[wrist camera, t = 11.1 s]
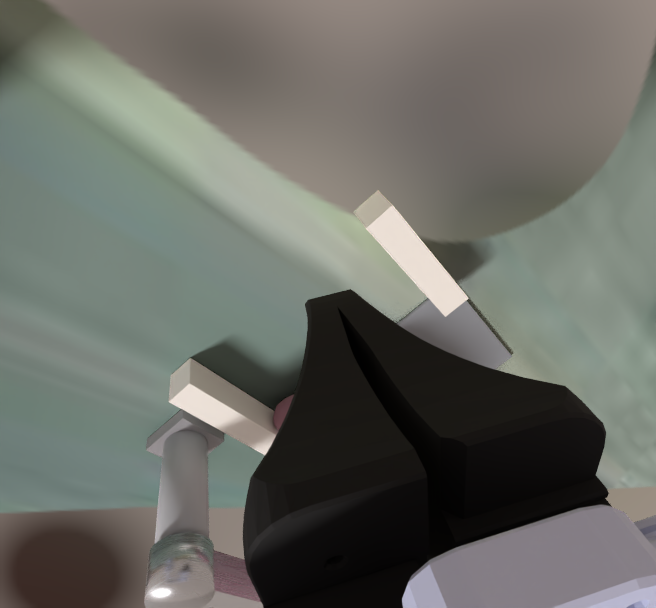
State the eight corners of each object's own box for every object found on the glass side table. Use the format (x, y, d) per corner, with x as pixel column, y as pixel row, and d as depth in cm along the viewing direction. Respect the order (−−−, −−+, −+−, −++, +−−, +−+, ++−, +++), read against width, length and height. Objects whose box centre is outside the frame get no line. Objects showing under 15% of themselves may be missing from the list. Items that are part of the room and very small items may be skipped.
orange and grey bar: (135, 561, 20) (129, 608, 19) (175, 526, 20) (172, 572, 18) (329, 612, 27) (337, 650, 26) (363, 587, 27) (374, 625, 25)
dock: (116, 423, 25) (93, 538, 20) (377, 189, 21) (438, 251, 16) (214, 471, 29) (216, 578, 23) (451, 279, 25) (520, 353, 20)
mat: (289, 410, 27) (290, 412, 27) (449, 280, 25) (451, 282, 25) (367, 461, 32) (368, 463, 32) (510, 354, 29) (512, 356, 29)
